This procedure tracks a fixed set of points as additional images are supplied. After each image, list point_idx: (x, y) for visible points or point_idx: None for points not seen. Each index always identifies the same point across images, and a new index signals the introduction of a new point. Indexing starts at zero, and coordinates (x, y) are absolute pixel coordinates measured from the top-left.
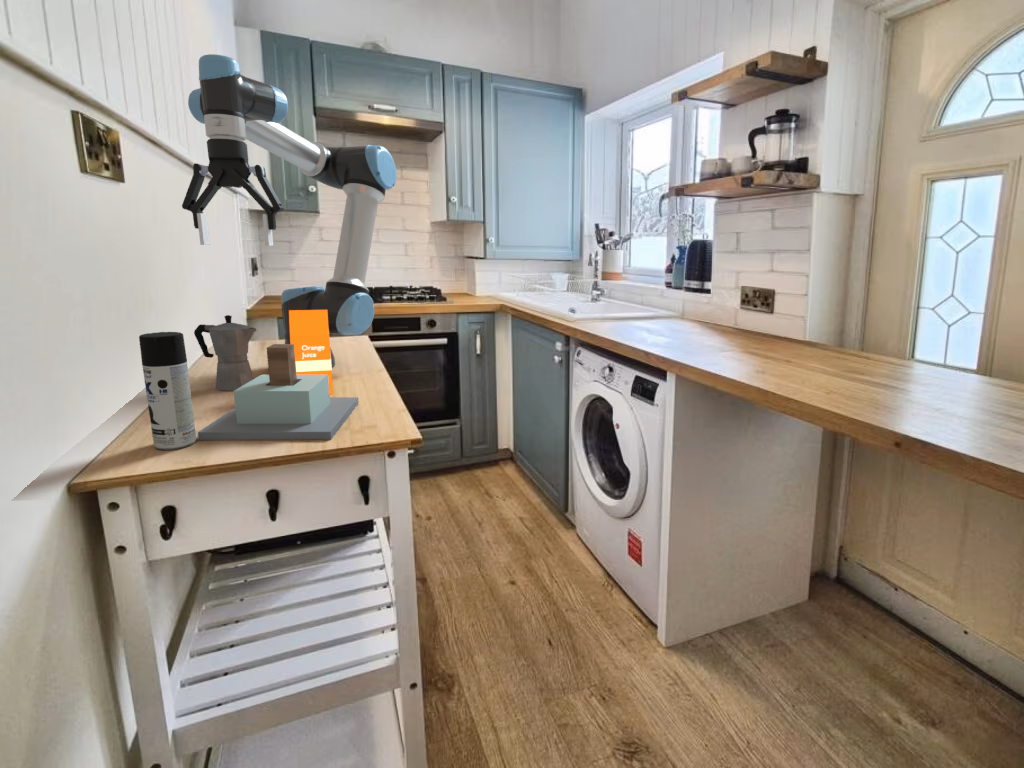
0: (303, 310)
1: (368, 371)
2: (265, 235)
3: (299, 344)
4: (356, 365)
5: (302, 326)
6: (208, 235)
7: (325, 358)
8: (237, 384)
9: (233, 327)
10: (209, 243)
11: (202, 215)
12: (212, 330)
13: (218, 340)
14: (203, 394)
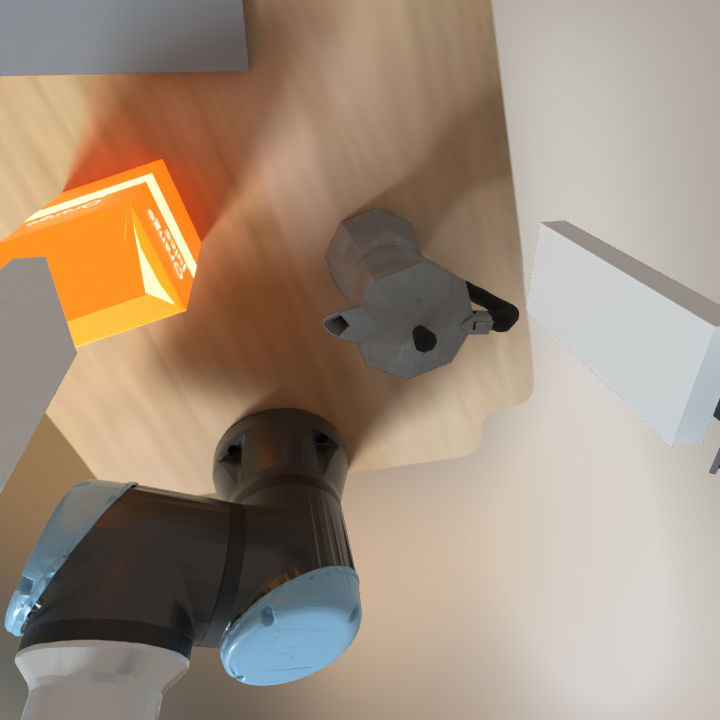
0: (89, 312)
1: (95, 436)
2: (3, 292)
3: (106, 204)
4: (161, 486)
5: (88, 248)
6: (559, 333)
7: (41, 217)
8: (353, 223)
9: (387, 296)
10: (530, 307)
11: (684, 355)
12: (449, 274)
13: (422, 259)
14: (420, 172)
